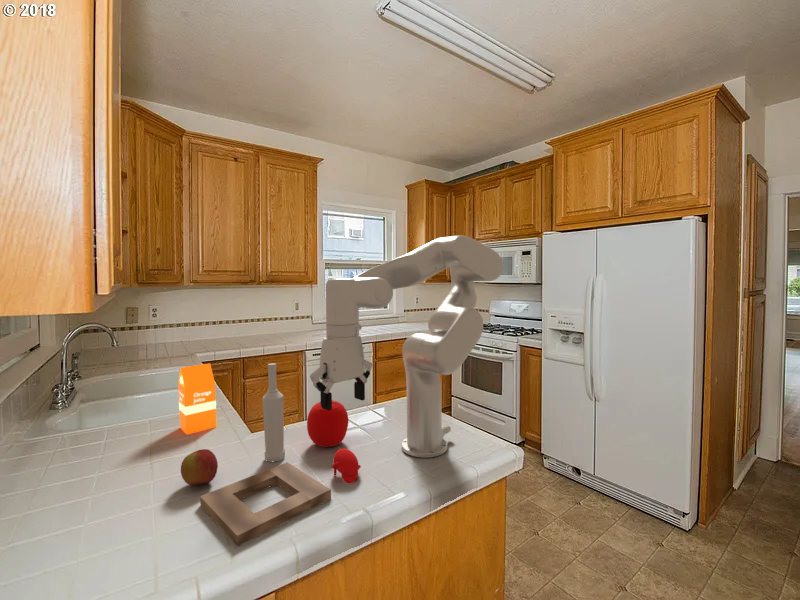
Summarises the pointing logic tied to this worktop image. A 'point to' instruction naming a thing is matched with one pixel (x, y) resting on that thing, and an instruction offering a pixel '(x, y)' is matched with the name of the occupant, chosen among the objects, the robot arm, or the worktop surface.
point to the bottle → (273, 419)
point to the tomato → (327, 424)
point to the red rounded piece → (346, 465)
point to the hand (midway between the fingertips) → (343, 403)
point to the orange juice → (197, 398)
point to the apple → (199, 467)
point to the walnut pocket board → (250, 525)
